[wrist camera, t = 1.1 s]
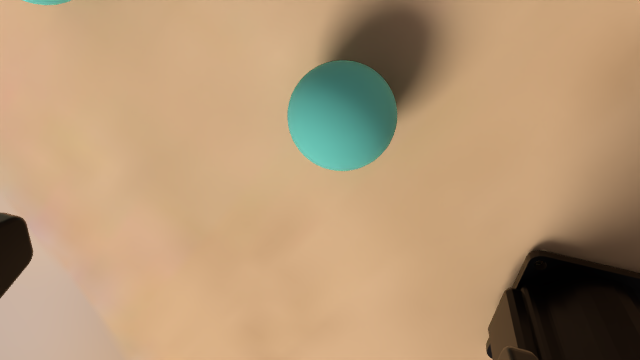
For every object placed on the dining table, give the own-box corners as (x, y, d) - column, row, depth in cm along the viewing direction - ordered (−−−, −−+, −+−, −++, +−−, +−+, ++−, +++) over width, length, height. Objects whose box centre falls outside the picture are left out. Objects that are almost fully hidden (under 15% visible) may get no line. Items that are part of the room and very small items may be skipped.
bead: (411, 60, 16) (405, 89, 13) (389, 154, 18) (379, 201, 15) (309, 41, 17) (278, 64, 14) (298, 135, 19) (268, 175, 15)
